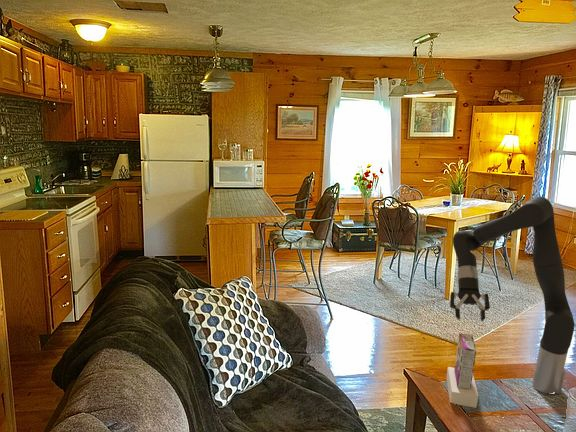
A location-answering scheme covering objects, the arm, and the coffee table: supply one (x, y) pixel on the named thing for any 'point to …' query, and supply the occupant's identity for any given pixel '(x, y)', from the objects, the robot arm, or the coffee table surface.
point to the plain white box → (461, 391)
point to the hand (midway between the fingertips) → (470, 319)
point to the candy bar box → (465, 361)
